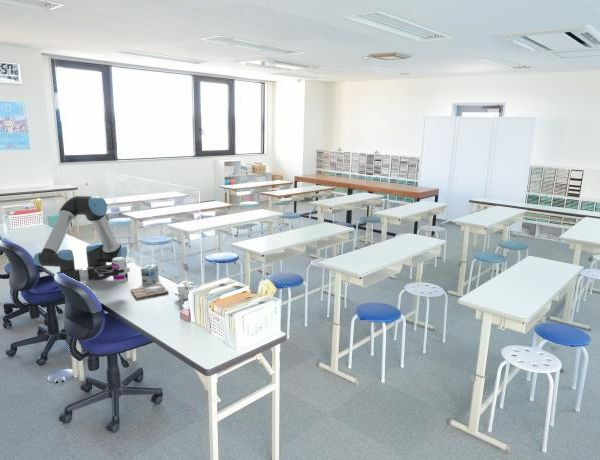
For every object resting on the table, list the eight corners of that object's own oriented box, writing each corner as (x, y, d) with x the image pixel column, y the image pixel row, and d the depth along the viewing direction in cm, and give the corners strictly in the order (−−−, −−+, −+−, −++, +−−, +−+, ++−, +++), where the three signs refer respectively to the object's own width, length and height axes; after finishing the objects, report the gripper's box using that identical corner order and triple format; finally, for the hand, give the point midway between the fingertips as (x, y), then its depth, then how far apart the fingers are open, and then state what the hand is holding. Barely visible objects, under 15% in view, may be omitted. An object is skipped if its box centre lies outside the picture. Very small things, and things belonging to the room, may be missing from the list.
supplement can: (119, 285, 267) (117, 261, 263) (111, 282, 271) (108, 259, 267) (131, 281, 273) (128, 257, 270) (122, 278, 278) (120, 255, 274)
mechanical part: (184, 294, 277) (183, 276, 274) (198, 298, 271) (197, 279, 269) (170, 300, 268) (169, 281, 265) (185, 304, 262) (184, 285, 259)
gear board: (131, 291, 281) (130, 288, 281) (161, 286, 291) (161, 283, 291) (136, 300, 268) (136, 297, 268) (168, 293, 278) (168, 291, 278)
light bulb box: (151, 284, 293) (149, 269, 291) (141, 284, 295) (140, 268, 292) (159, 279, 304) (158, 264, 301) (150, 278, 305) (148, 263, 302)
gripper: (85, 274, 270) (125, 268, 282) (90, 285, 253) (132, 278, 265) (84, 263, 269) (123, 256, 280) (88, 273, 251) (131, 266, 263)
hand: (127, 267), depth 272 cm, fingers closed on supplement can, 8 cm apart
